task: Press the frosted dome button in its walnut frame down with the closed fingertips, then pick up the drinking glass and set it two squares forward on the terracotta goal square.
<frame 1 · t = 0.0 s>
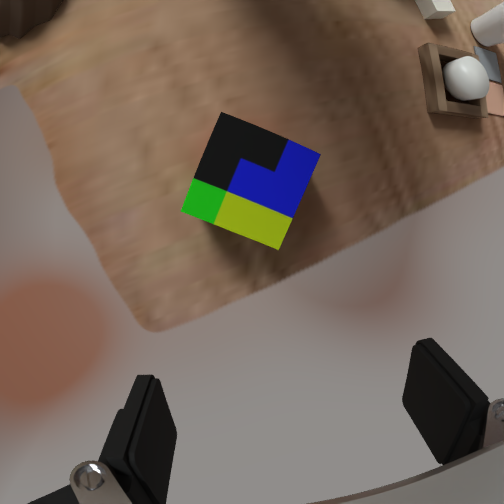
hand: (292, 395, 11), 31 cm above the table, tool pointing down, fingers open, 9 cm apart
puzzle toy: (247, 176, 39), on the table
button frame: (449, 83, 36), on the table
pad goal: (493, 98, 36), on the table
pad mid: (487, 64, 35), on the table
white cube: (427, 8, 33), on the table
drinking glass: (479, 33, 33), on the table
dome button: (466, 78, 32), point 4 cm above the table, slide at 0.0 cm
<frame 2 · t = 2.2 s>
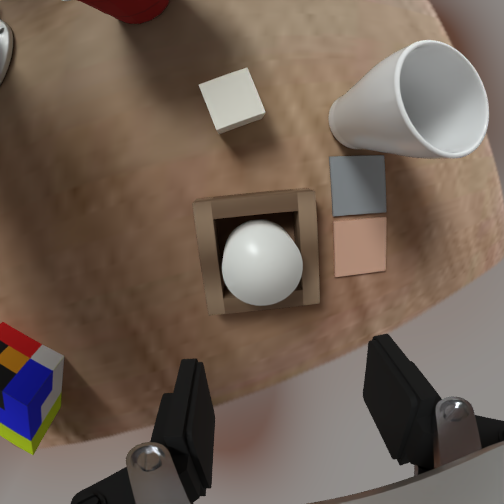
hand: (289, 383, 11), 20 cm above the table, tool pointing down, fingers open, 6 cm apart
puzzle toy: (32, 365, 33), on the table
button frame: (257, 246, 30), on the table
plastic cup: (140, 2, 23), on the table
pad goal: (360, 246, 31), on the table
pad mid: (358, 184, 29), on the table
white cube: (232, 106, 27), on the table
drinking glass: (353, 122, 28), on the table
dome button: (260, 260, 26), point 4 cm above the table, slide at 0.0 cm
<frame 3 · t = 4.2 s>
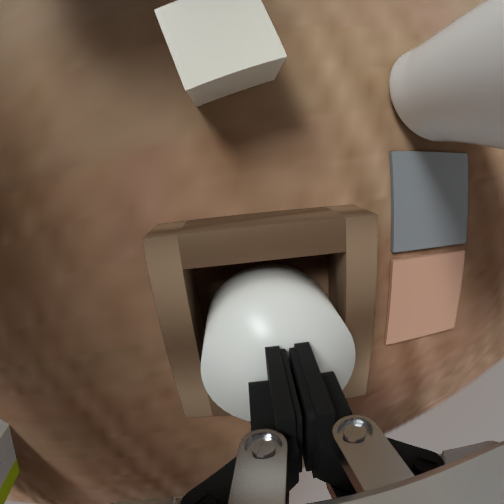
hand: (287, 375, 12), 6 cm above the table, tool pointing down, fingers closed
button frame: (265, 305, 17), on the table
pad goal: (425, 296, 18), on the table
pad mid: (431, 199, 16), on the table
white cube: (221, 58, 14), on the table
drinking glass: (423, 96, 15), on the table
dome button: (274, 343, 14), point 4 cm above the table, slide at -0.4 cm, touching gripper
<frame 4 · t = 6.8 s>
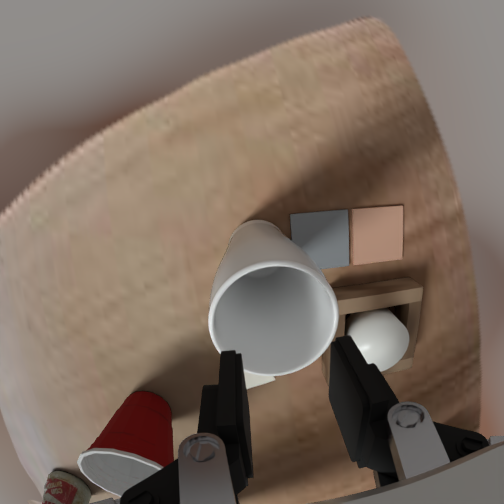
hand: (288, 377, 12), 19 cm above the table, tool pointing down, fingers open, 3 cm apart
button frame: (366, 325, 33), on the table
plastic cup: (149, 407, 35), on the table
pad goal: (378, 234, 30), on the table
pad mid: (320, 240, 30), on the table
bottle: (71, 481, 41), on the table
white cube: (247, 349, 33), on the table
drinking glass: (256, 246, 30), on the table
dome button: (375, 337, 30), point 3 cm above the table, slide at -1.6 cm
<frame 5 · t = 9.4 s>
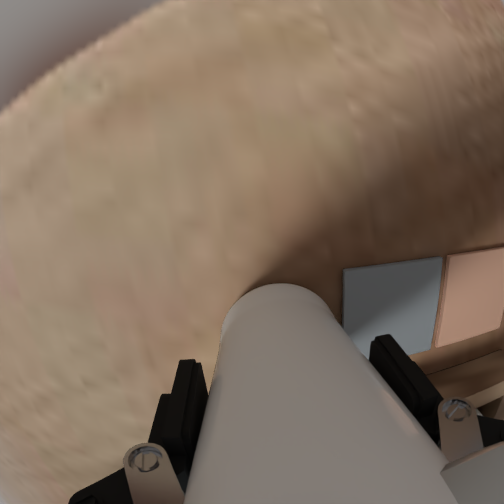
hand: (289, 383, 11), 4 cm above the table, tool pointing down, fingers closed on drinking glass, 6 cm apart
button frame: (433, 421, 18), on the table
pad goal: (476, 295, 15), on the table
pad mid: (391, 313, 15), on the table
drinking glass: (276, 328, 15), on the table, touching gripper
dome button: (449, 445, 16), point 3 cm above the table, slide at -1.6 cm
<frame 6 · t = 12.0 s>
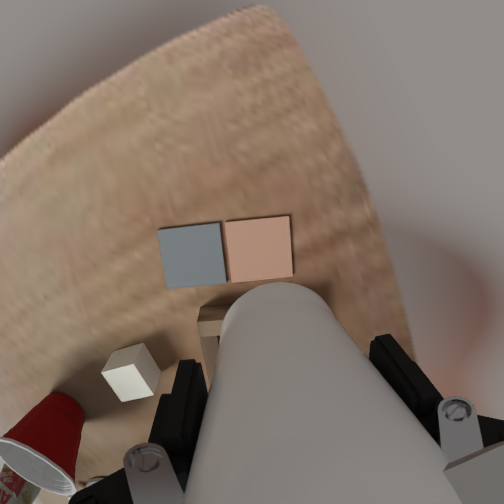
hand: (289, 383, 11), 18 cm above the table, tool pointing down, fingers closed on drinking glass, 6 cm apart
button frame: (258, 346, 32), on the table
plastic cup: (66, 408, 34), on the table
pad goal: (259, 249, 29), on the table
pad mid: (192, 256, 29), on the table
bottle: (24, 473, 40), on the table
white cube: (137, 361, 32), on the table
drinking glass: (276, 327, 15), point 14 cm above the table, touching gripper
when the fingers open (6 cm above the table, at t = 14.8 s): drinking glass drops 1 cm, resting on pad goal.
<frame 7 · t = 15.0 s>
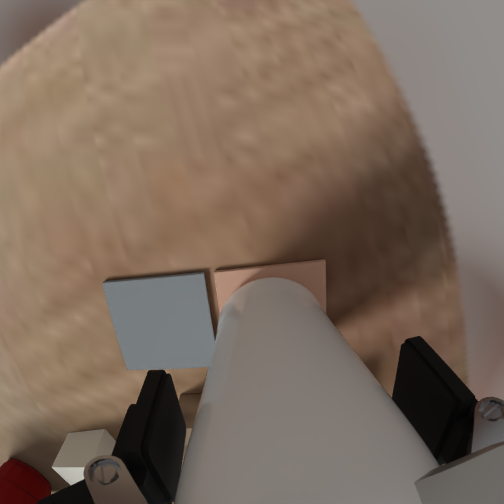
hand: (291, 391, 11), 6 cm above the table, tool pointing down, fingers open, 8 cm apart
button frame: (267, 440, 20), on the table
plastic cup: (30, 475, 22), on the table
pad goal: (273, 314, 17), on the table
pad mid: (161, 324, 17), on the table
white cube: (101, 447, 20), on the table
drinking glass: (269, 319, 17), resting on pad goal
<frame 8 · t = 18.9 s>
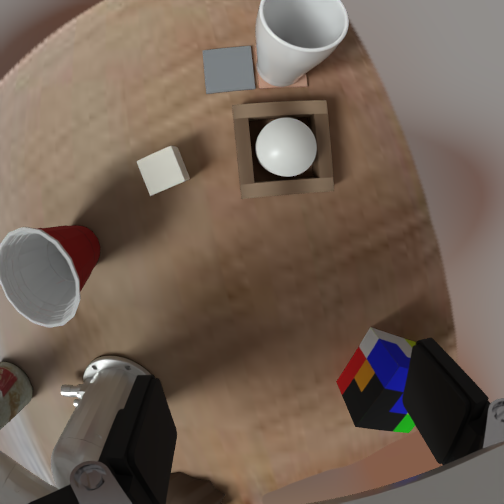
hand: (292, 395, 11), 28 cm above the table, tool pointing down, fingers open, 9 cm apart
decorative dome: (179, 493, 53), on the table
puzzle toy: (378, 361, 44), on the table
button frame: (280, 148, 35), on the table
plastic cup: (82, 248, 38), on the table
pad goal: (280, 65, 33), on the table
pad mid: (228, 69, 33), on the table
bottle: (16, 379, 43), on the table
white cube: (168, 169, 36), on the table
drinking glass: (279, 67, 33), resting on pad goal
dome button: (284, 147, 33), point 3 cm above the table, slide at -1.6 cm
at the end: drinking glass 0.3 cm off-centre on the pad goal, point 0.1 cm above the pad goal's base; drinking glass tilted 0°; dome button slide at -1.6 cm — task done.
